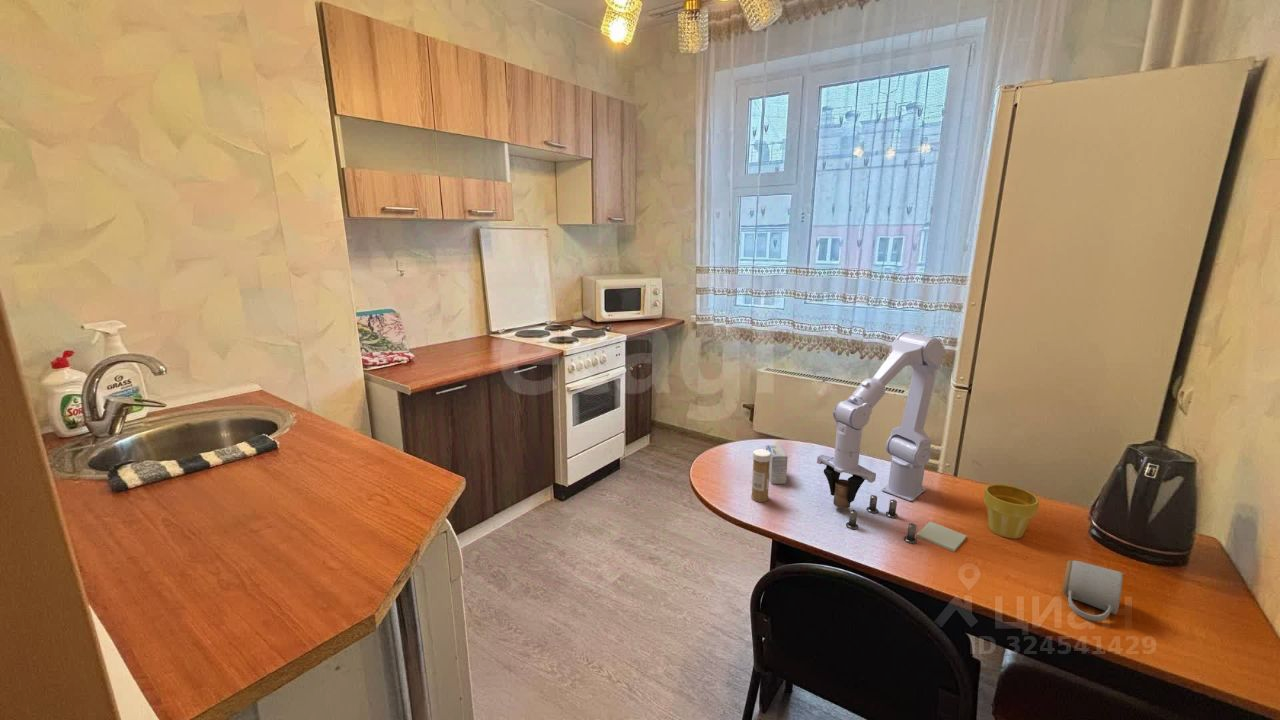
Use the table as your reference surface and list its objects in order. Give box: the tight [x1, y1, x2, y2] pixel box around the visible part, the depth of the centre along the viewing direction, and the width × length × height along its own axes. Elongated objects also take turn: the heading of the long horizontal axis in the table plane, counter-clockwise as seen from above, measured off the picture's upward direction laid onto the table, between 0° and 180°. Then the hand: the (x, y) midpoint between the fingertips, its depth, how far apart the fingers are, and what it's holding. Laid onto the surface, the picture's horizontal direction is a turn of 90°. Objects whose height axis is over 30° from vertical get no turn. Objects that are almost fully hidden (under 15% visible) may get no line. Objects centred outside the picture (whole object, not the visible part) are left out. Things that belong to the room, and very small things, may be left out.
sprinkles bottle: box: [751, 448, 771, 503], centre depth 135 cm, size 5×5×13 cm
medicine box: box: [765, 444, 789, 485], centre depth 147 cm, size 8×4×9 cm, turn 179°
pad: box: [916, 521, 968, 553], centre depth 119 cm, size 8×8×1 cm
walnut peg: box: [833, 478, 851, 509], centre depth 130 cm, size 4×4×6 cm
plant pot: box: [983, 483, 1040, 540], centre depth 120 cm, size 10×10×10 cm
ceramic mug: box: [1062, 559, 1124, 622], centre depth 96 cm, size 11×8×8 cm
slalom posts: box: [845, 494, 918, 545], centre depth 122 cm, size 15×14×4 cm
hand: (842, 497), depth 130 cm, fingers closed on walnut peg, 4 cm apart
